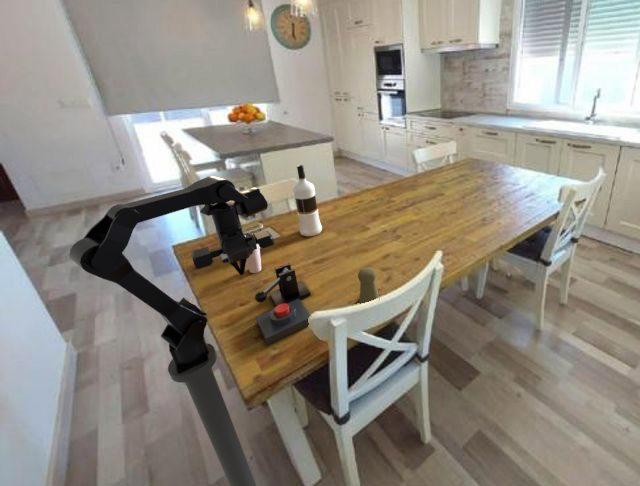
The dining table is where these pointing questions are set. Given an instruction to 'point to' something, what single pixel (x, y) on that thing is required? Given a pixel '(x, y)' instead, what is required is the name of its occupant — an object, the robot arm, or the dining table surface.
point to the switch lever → (268, 289)
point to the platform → (257, 230)
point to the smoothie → (254, 261)
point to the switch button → (282, 310)
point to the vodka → (306, 205)
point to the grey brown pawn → (367, 285)
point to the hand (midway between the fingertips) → (242, 274)
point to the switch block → (283, 322)
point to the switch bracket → (288, 287)
